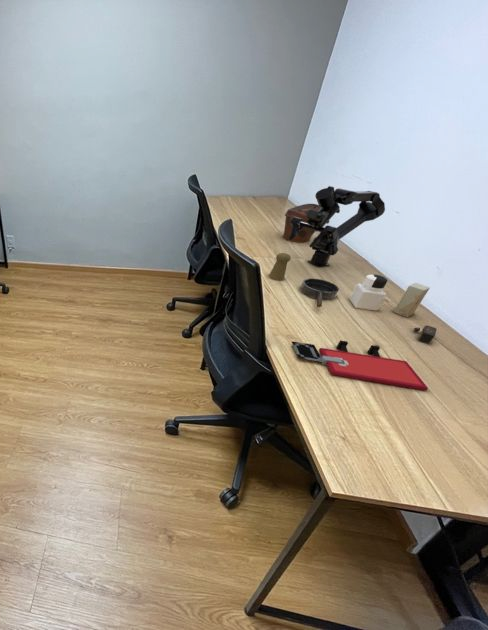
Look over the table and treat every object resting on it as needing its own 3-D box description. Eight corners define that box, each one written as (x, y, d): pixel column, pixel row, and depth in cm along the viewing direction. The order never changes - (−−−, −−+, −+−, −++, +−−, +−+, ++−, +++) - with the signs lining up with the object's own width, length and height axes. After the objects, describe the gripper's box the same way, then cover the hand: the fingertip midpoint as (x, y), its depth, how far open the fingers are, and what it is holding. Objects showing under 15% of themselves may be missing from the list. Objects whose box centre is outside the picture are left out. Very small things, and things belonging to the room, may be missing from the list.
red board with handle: (288, 340, 110) (301, 370, 98) (291, 333, 109) (305, 363, 97) (397, 356, 104) (425, 391, 92) (402, 349, 102) (431, 384, 90)
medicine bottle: (370, 301, 131) (385, 273, 125) (377, 311, 126) (394, 282, 119) (348, 299, 133) (362, 271, 127) (354, 308, 128) (370, 279, 121)
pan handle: (316, 294, 133) (318, 290, 132) (321, 295, 132) (322, 291, 131) (315, 307, 124) (317, 303, 124) (320, 308, 124) (322, 304, 123)
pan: (300, 283, 145) (303, 276, 143) (334, 290, 139) (338, 282, 137) (299, 295, 136) (302, 287, 134) (335, 303, 131) (339, 295, 129)
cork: (282, 281, 146) (290, 258, 140) (267, 277, 150) (275, 254, 144) (285, 277, 150) (294, 253, 144) (270, 273, 153) (278, 250, 147)
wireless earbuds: (431, 335, 113) (437, 327, 111) (429, 344, 108) (434, 336, 107) (413, 329, 115) (418, 321, 114) (410, 338, 111) (415, 330, 110)
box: (406, 317, 122) (423, 290, 116) (392, 312, 125) (408, 285, 119) (413, 313, 124) (430, 287, 118) (399, 308, 127) (415, 282, 121)
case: (279, 242, 186) (291, 209, 176) (276, 231, 202) (286, 200, 192) (317, 246, 180) (331, 213, 171) (310, 234, 196) (322, 203, 186)
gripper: (300, 197, 147) (275, 226, 149) (346, 208, 133) (318, 239, 135) (304, 213, 155) (280, 240, 156) (348, 224, 140) (322, 254, 142)
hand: (299, 243), depth 147 cm, fingers open, 9 cm apart
